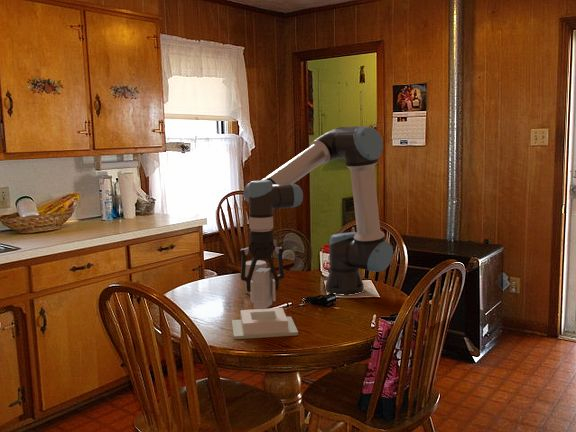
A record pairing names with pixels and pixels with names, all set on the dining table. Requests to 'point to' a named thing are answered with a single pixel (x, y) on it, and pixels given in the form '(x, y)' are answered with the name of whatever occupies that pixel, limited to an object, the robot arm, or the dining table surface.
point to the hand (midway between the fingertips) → (262, 300)
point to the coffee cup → (258, 265)
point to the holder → (263, 324)
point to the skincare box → (262, 288)
